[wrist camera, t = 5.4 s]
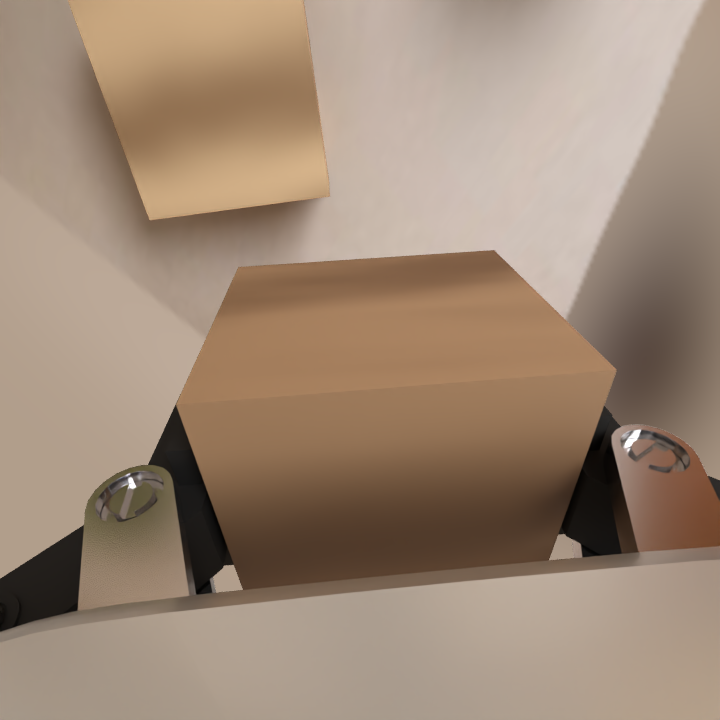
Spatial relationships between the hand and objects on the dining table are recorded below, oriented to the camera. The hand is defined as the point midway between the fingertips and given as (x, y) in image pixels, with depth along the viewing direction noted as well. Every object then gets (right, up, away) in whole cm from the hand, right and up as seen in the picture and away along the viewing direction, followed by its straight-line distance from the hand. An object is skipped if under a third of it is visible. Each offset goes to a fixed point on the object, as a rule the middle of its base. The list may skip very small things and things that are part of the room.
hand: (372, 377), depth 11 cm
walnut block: (0, 0, +1) cm, 1 cm away
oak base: (-7, +15, +13) cm, 21 cm away
